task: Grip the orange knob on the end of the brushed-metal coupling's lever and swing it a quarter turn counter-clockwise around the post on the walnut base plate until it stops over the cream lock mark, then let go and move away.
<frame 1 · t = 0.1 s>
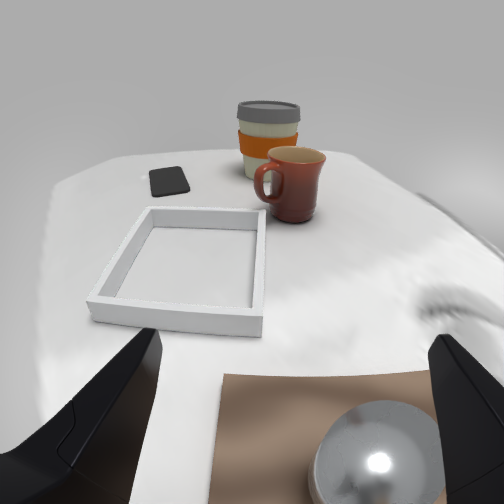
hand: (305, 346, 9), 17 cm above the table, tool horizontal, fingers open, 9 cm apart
reusable coffee cup: (266, 174, 66), on the table
mug: (284, 218, 50), on the table
phone: (168, 183, 63), on the table
tray frame: (191, 267, 39), on the table
base plate: (349, 490, 17), on the table
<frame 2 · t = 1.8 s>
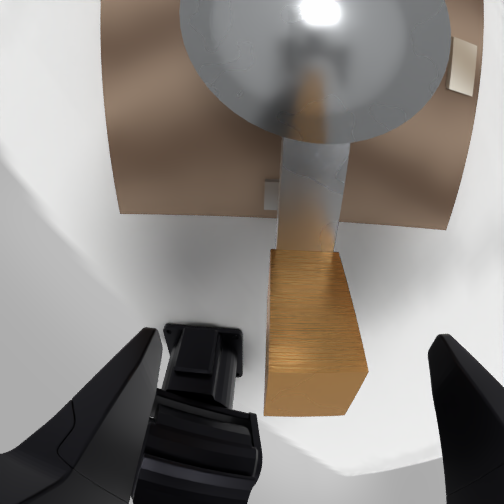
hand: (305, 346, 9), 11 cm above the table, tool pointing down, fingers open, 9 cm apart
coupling: (325, 120, 7), point 9 cm above the table, hinge at 0.0°
base plate: (299, 34, 13), on the table
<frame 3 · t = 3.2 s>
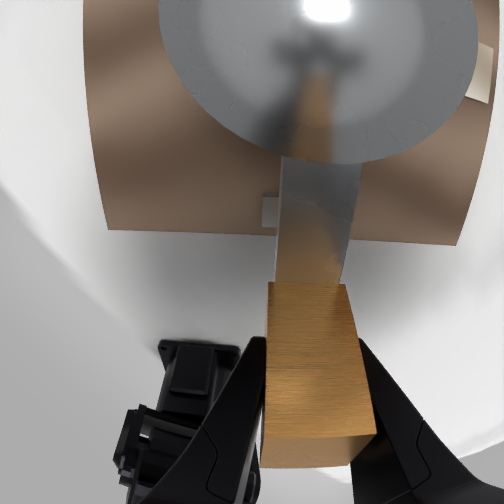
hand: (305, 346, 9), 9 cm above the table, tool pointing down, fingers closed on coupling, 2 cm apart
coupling: (335, 139, 6), point 9 cm above the table, hinge at 0.0°, touching gripper
base plate: (301, 33, 12), on the table
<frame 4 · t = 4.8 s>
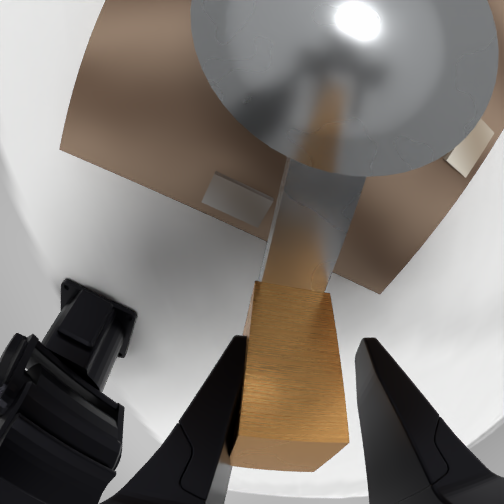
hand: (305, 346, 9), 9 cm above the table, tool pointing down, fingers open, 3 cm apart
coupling: (345, 149, 6), point 9 cm above the table, hinge at 16.4°, touching gripper
base plate: (321, 41, 12), on the table
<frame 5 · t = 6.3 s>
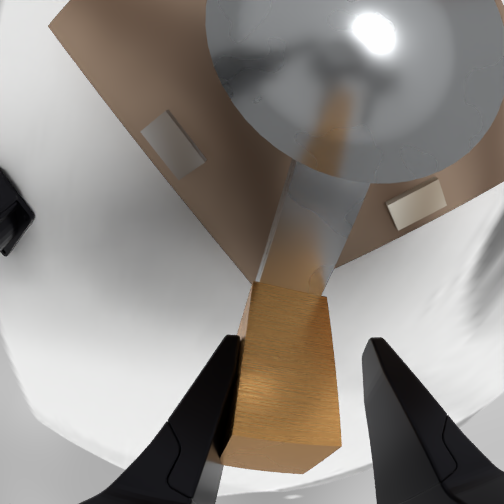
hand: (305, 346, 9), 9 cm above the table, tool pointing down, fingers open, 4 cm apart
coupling: (353, 155, 6), point 9 cm above the table, hinge at 43.2°, touching gripper
base plate: (330, 45, 12), on the table
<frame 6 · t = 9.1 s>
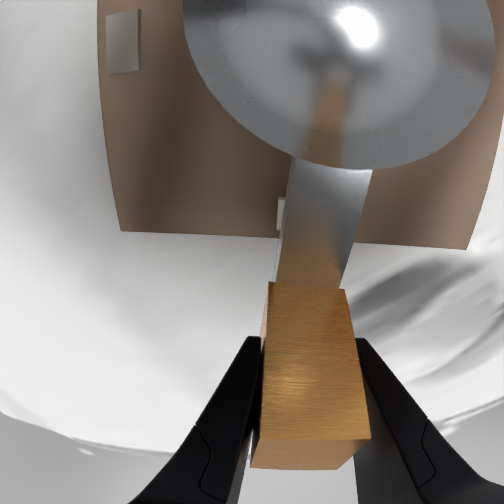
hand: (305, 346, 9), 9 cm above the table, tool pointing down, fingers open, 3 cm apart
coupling: (349, 144, 6), point 9 cm above the table, hinge at 85.7°, touching gripper
base plate: (317, 37, 12), on the table
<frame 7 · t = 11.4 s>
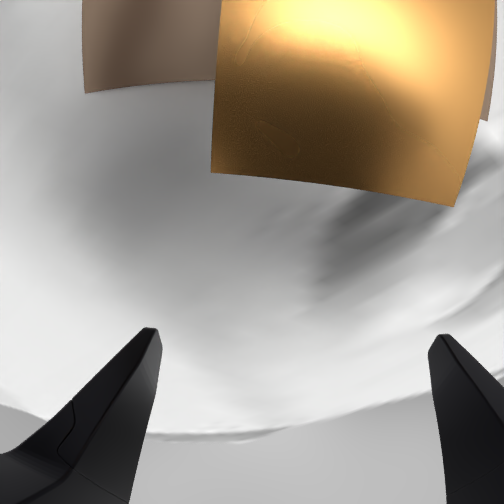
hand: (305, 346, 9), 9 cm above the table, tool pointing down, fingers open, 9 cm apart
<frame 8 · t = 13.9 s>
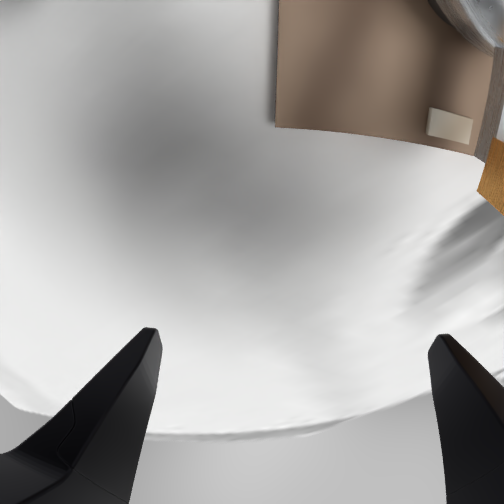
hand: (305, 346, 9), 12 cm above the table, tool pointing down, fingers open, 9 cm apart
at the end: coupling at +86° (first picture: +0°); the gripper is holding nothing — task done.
